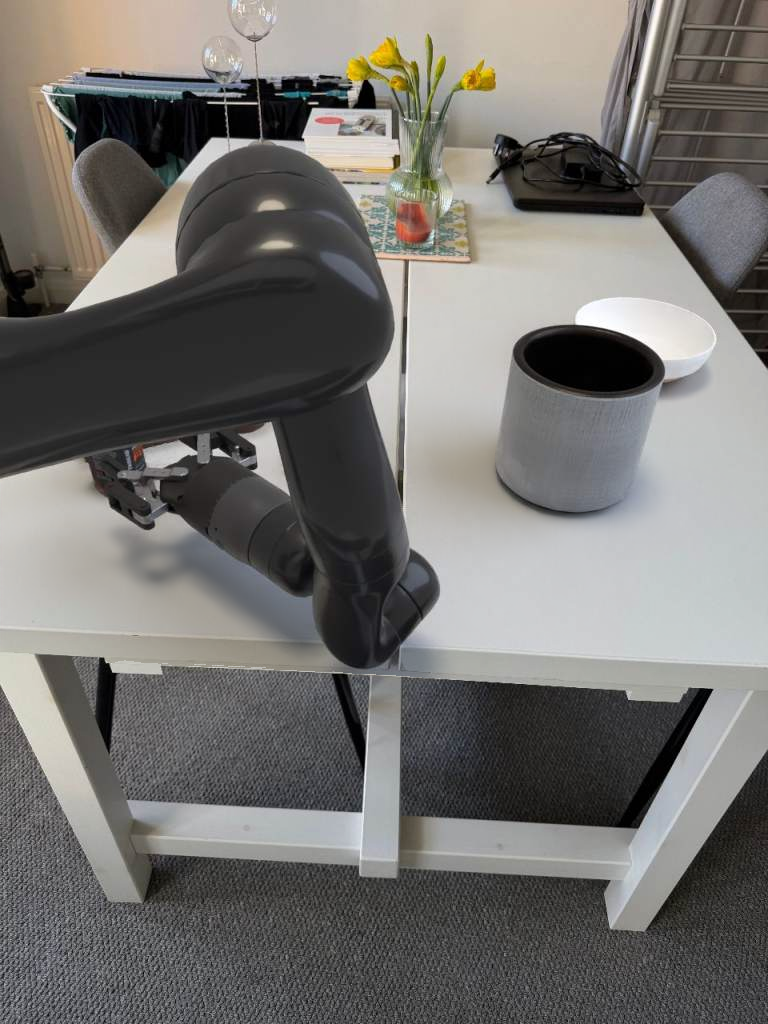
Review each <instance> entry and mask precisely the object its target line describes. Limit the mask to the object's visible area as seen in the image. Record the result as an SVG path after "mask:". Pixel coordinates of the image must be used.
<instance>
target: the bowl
mask: <svg viewBox="0 0 768 1024" xmlns="http://www.w3.org/2000/svg"><path fill="white" fill-rule="evenodd" d="M573 325H588V326H595V327H601V328H606V329H610V330H613V331H617V332H620V333H623V334H626V335H628V336H630V337H633V338H635V339H637V340H639V341H641V342H642V343H644V344H646V345H647V346H648V347H650V348H651V349H652V350H654V351H655V352H656V353H657V354H658V355H659V357H660V358H661V360H662V361H663V363H664V366H665V377H664V380H663V383H670V382H673V381H676V380H679V379H682V378H683V377H687V376H689V375H691V374H693V373H695V372H697V371H698V370H699V369H700V368H702V366H703V365H704V364H705V362H707V361H708V360H709V358H710V356H711V354H712V353H713V350H714V348H715V346H716V344H717V335H716V332H715V329H713V327H712V325H711V324H710V323H709V322H707V321H706V320H705V319H704V318H702V317H701V316H699V315H698V314H696V313H694V312H692V311H690V310H688V309H685V308H683V307H680V306H678V305H675V304H673V303H668V302H664V301H662V300H661V301H660V300H655V299H651V298H645V297H644V298H643V297H632V296H631V297H629V296H627V297H626V296H618V297H617V296H616V297H606V298H602V299H597V300H594V301H591V302H588V303H586V304H584V305H583V306H581V307H580V308H579V309H578V310H577V311H576V313H575V315H574V318H573Z"/></svg>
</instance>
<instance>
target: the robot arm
mask: <svg viewBox="0 0 768 1024" xmlns="http://www.w3.org/2000/svg"><path fill="white" fill-rule="evenodd" d="M174 245H175V247H174V249H175V253H174V254H175V257H174V258H175V267H176V274H175V275H174V276H171V277H169V278H167V279H165V280H162V281H160V282H157V283H155V284H153V285H151V286H148V287H144V288H142V289H139V290H135V291H134V292H130V293H128V294H125V295H121V296H117V297H114V298H111V299H107V300H104V301H100V302H97V303H94V304H90V305H87V306H83V307H80V308H77V309H74V310H73V309H72V310H70V311H69V310H68V311H64V312H59V313H55V314H50V315H40V316H39V315H38V316H31V317H7V316H0V480H1V479H5V478H9V477H12V476H17V475H21V474H25V473H28V472H32V471H35V470H39V469H44V468H48V467H51V466H52V467H53V466H56V465H61V464H64V463H68V462H72V461H75V460H81V459H83V458H84V459H85V457H88V456H92V455H96V454H100V453H104V452H108V451H113V450H118V449H123V448H128V447H133V446H138V445H144V444H149V443H155V442H160V441H166V440H172V439H178V440H177V441H179V442H181V443H182V444H184V445H185V446H187V447H189V448H191V449H192V450H193V451H195V452H197V453H196V454H192V455H191V454H187V455H184V456H183V457H181V458H180V459H179V460H178V461H177V462H174V463H170V464H168V465H166V466H164V467H149V466H147V468H144V470H143V471H131V470H127V467H125V466H124V465H122V464H121V463H120V462H118V461H117V460H115V459H114V458H113V457H111V456H110V455H108V454H106V455H104V456H102V457H100V460H101V463H99V465H100V468H101V472H102V475H103V478H105V479H106V480H107V481H109V482H108V483H106V484H105V485H104V488H105V491H106V493H107V494H106V493H105V494H106V496H107V500H108V505H109V508H110V509H111V510H112V511H113V510H114V512H116V513H118V514H119V515H121V516H122V517H124V518H125V519H127V520H128V521H130V522H131V523H132V524H135V525H136V526H138V528H140V529H142V530H143V531H151V530H153V529H154V528H155V527H156V522H155V520H156V519H157V518H159V517H161V516H162V515H164V514H165V513H168V514H172V515H176V516H177V515H178V516H179V517H180V518H182V520H183V521H184V522H185V523H186V524H187V525H188V526H189V527H191V528H192V529H193V530H194V531H196V532H198V533H199V534H201V535H202V536H203V537H204V538H206V539H208V540H209V542H212V544H214V545H216V547H218V549H220V550H222V551H223V552H225V553H226V554H228V555H229V556H231V557H232V558H233V559H235V560H237V561H238V562H240V563H242V564H244V565H246V566H248V567H250V568H252V570H253V569H254V570H255V571H256V572H257V573H259V574H260V575H262V576H263V577H265V578H266V579H267V580H269V582H272V583H273V584H274V585H275V586H277V587H278V588H279V589H282V590H283V591H284V592H285V593H287V594H288V595H291V596H293V597H295V598H299V599H300V598H302V599H305V598H311V597H312V600H311V601H312V603H311V604H312V605H311V606H312V617H313V621H314V625H315V628H316V632H317V633H318V636H319V638H320V640H321V642H322V643H323V645H324V647H325V648H326V649H327V651H328V652H329V653H330V654H331V655H332V656H333V657H334V658H335V659H336V660H337V661H338V662H340V663H342V664H344V665H345V666H347V667H349V668H350V667H351V668H353V669H357V670H370V669H371V670H372V669H375V668H377V667H380V666H382V665H384V664H385V663H386V662H387V661H389V660H390V659H391V658H392V657H393V656H394V654H395V653H396V652H397V651H398V650H399V648H401V646H402V645H403V644H404V643H405V641H406V640H407V639H408V638H409V637H410V635H412V633H413V632H414V631H415V630H416V628H417V627H418V626H419V625H420V624H421V622H423V620H424V619H426V617H427V616H428V615H429V614H430V612H431V611H432V610H433V609H434V608H435V606H436V604H437V603H438V601H439V599H440V597H441V596H440V595H441V583H440V580H439V577H438V574H437V572H436V570H435V569H434V567H433V566H432V565H431V563H430V562H429V561H428V560H427V558H425V557H424V556H423V555H422V554H420V553H419V552H418V551H416V550H415V549H413V548H411V546H410V539H409V533H408V528H407V523H406V520H405V515H404V514H405V513H404V509H403V504H402V500H401V495H400V492H399V487H398V484H397V480H396V478H395V477H396V476H395V474H394V471H393V467H392V464H391V461H390V458H389V454H388V451H387V448H386V446H385V441H384V439H383V436H382V432H381V429H380V425H379V421H378V419H377V415H376V413H375V412H376V411H375V409H374V405H373V401H372V396H371V394H370V391H369V385H368V382H369V381H370V380H371V379H372V378H373V377H374V376H375V375H376V373H377V372H378V371H379V370H380V369H381V367H382V366H383V364H384V362H385V361H386V359H387V357H388V355H389V353H390V351H391V348H392V345H393V341H394V337H395V331H396V329H395V328H396V327H395V326H396V321H395V315H394V307H393V303H392V300H391V297H390V293H389V290H388V287H387V284H386V281H385V278H384V274H383V272H382V268H381V266H380V264H379V261H378V259H377V256H376V253H375V250H374V247H373V244H372V241H371V239H370V235H369V231H368V229H367V226H366V223H365V220H364V218H363V215H362V213H361V211H360V210H359V208H358V207H357V204H356V202H355V201H354V198H353V197H352V195H351V194H350V192H349V191H348V190H347V188H346V187H345V186H344V185H343V183H342V182H341V181H340V180H339V178H337V176H336V175H335V174H334V173H333V172H332V171H331V170H329V169H328V168H327V167H326V166H325V165H323V164H322V163H321V162H320V161H319V160H317V159H315V158H314V157H312V156H310V155H308V154H306V153H304V152H303V151H300V150H297V149H294V148H291V147H287V146H283V145H275V144H265V143H264V144H255V145H246V146H242V147H238V148H236V149H233V150H231V151H228V152H226V153H225V154H223V155H222V156H220V157H218V158H217V159H215V160H213V161H212V162H211V163H209V164H208V165H207V167H206V168H205V169H203V170H202V171H201V172H200V174H199V175H198V176H196V179H195V180H194V182H193V183H192V185H191V187H190V189H189V190H188V192H187V193H186V196H185V199H184V201H183V204H182V206H181V210H180V213H179V216H178V221H177V229H176V237H175V244H174ZM263 423H265V424H267V423H271V426H272V429H273V433H274V436H275V441H276V445H277V448H278V449H277V450H278V453H279V456H280V460H281V465H282V468H283V472H284V478H285V481H286V485H287V489H288V492H286V491H284V490H283V489H281V488H280V487H278V486H277V485H275V484H273V483H272V482H270V481H269V480H267V479H265V478H264V477H262V476H261V475H259V474H258V473H257V472H254V471H255V470H257V469H258V467H259V466H258V456H257V447H256V444H253V443H252V442H251V441H249V439H247V438H245V437H243V436H242V435H240V433H236V432H234V431H233V430H231V429H235V428H241V427H246V426H252V425H257V424H263ZM216 449H218V450H220V451H221V452H223V453H224V454H225V455H227V456H222V455H219V456H218V455H214V452H213V450H216ZM155 481H159V490H158V489H157V488H156V484H155ZM133 482H137V483H141V484H142V486H141V487H136V486H134V484H133ZM288 493H289V494H288Z"/></svg>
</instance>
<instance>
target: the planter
mask: <svg viewBox="0 0 768 1024" xmlns="http://www.w3.org/2000/svg"><path fill="white" fill-rule="evenodd" d="M664 377H665V366H664V363H663V361H662V360H661V358H660V357H659V355H658V354H657V353H656V352H655V351H654V350H652V349H651V348H650V347H648V346H647V345H646V344H644V343H642V342H641V341H639V340H637V339H635V338H633V337H630V336H628V335H626V334H623V333H620V332H617V331H613V330H610V329H606V328H601V327H595V326H588V325H574V324H556V325H555V324H554V325H548V326H544V327H540V328H537V329H533V330H531V331H529V332H527V333H525V334H523V335H522V336H521V337H520V338H518V340H517V341H516V342H515V343H514V345H513V348H512V352H511V358H510V365H509V371H508V377H507V382H506V383H507V384H506V390H505V395H504V401H503V408H502V413H501V418H500V424H499V431H498V436H497V437H498V438H497V442H496V449H495V468H496V471H497V474H498V476H499V477H500V479H501V480H502V482H503V483H504V484H505V485H506V486H507V487H508V488H509V489H510V490H511V491H512V492H514V493H515V494H516V495H518V496H519V497H521V498H523V499H525V500H527V501H528V502H529V503H532V504H535V505H537V506H540V507H543V508H546V509H550V510H554V511H560V512H569V513H586V512H593V511H594V512H595V511H598V510H602V509H605V508H608V507H611V506H613V505H615V504H617V503H619V502H620V501H621V500H623V499H624V498H625V497H626V495H627V494H628V493H629V492H630V490H631V488H632V485H634V481H635V478H636V475H637V471H638V468H639V464H640V462H641V457H642V454H643V452H644V451H643V450H644V447H645V443H646V440H647V437H648V434H649V431H650V430H649V429H650V427H651V423H652V419H653V416H654V413H655V409H656V407H657V403H658V400H659V396H660V393H661V391H662V387H663V383H664V382H663V380H664Z"/></svg>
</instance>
